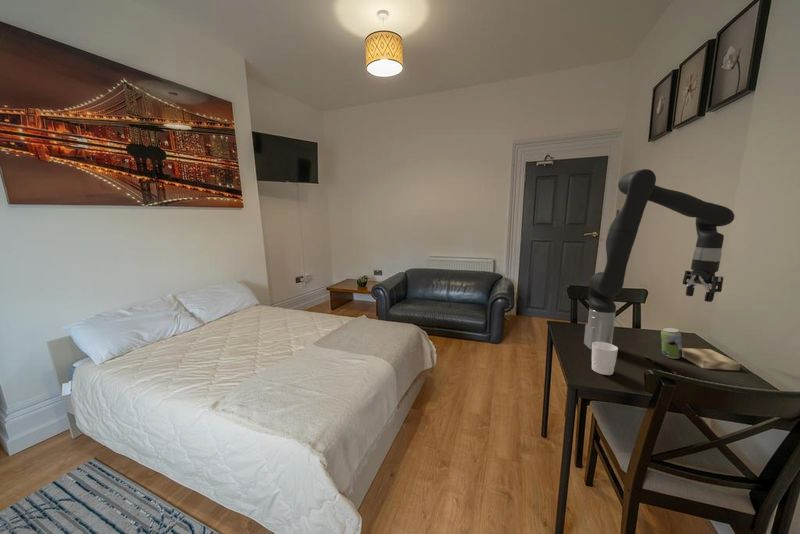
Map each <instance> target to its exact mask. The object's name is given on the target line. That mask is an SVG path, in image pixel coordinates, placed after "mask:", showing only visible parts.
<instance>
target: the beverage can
mask: <svg viewBox="0 0 800 534" xmlns="http://www.w3.org/2000/svg"><path fill="white" fill-rule="evenodd" d="M660 339H661V353H662V355H663V356H665V358H669V359H680V358H683V357H682V348H683V345H682V344H683V342H682V333H681V331H680V330H679V329H677V328H673V327H664V328H662V330H661V331H660Z"/></svg>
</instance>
